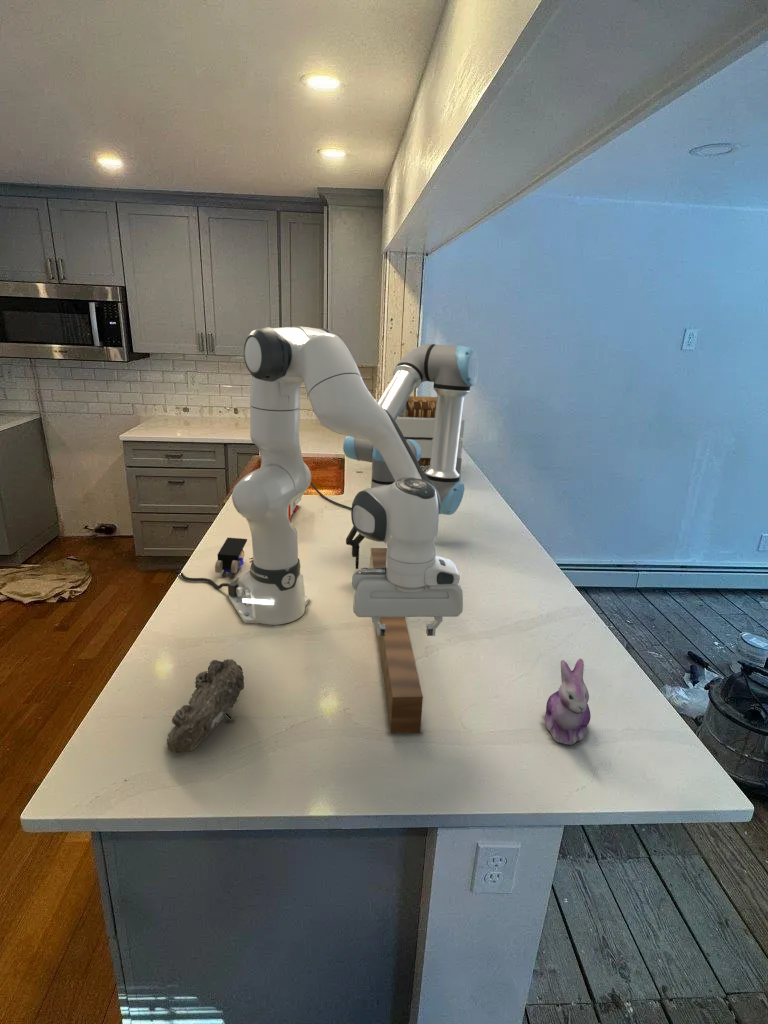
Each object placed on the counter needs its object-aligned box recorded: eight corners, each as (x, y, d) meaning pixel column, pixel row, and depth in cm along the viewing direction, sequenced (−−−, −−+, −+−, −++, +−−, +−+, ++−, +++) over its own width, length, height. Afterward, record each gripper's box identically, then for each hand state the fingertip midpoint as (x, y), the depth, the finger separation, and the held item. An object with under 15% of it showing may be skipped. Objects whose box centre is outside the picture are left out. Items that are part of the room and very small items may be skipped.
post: (369, 573, 170) (370, 547, 167) (388, 573, 170) (389, 548, 167) (390, 733, 106) (392, 697, 103) (420, 732, 106) (423, 696, 104)
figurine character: (238, 584, 162) (249, 557, 175) (236, 562, 158) (247, 536, 172) (215, 584, 161) (227, 556, 175) (212, 561, 158) (225, 535, 171)
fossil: (192, 660, 117) (244, 628, 112) (224, 691, 120) (276, 661, 115) (142, 746, 98) (202, 712, 93) (182, 779, 101) (242, 748, 96)
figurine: (568, 754, 103) (581, 685, 97) (530, 719, 111) (540, 654, 106) (605, 739, 107) (619, 671, 102) (565, 706, 115) (577, 642, 110)
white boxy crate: (382, 463, 289) (386, 382, 275) (445, 464, 293) (451, 384, 279) (390, 482, 257) (394, 392, 243) (460, 483, 261) (468, 394, 247)
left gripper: (353, 575, 98) (351, 644, 103) (468, 576, 100) (461, 643, 105) (352, 560, 104) (350, 625, 109) (461, 561, 106) (454, 625, 111)
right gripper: (338, 499, 150) (336, 572, 156) (432, 501, 152) (426, 573, 159) (338, 491, 157) (336, 561, 164) (427, 493, 159) (422, 562, 166)
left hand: (405, 634), depth 107 cm, fingers open, 8 cm apart
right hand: (380, 567), depth 161 cm, fingers open, 13 cm apart
